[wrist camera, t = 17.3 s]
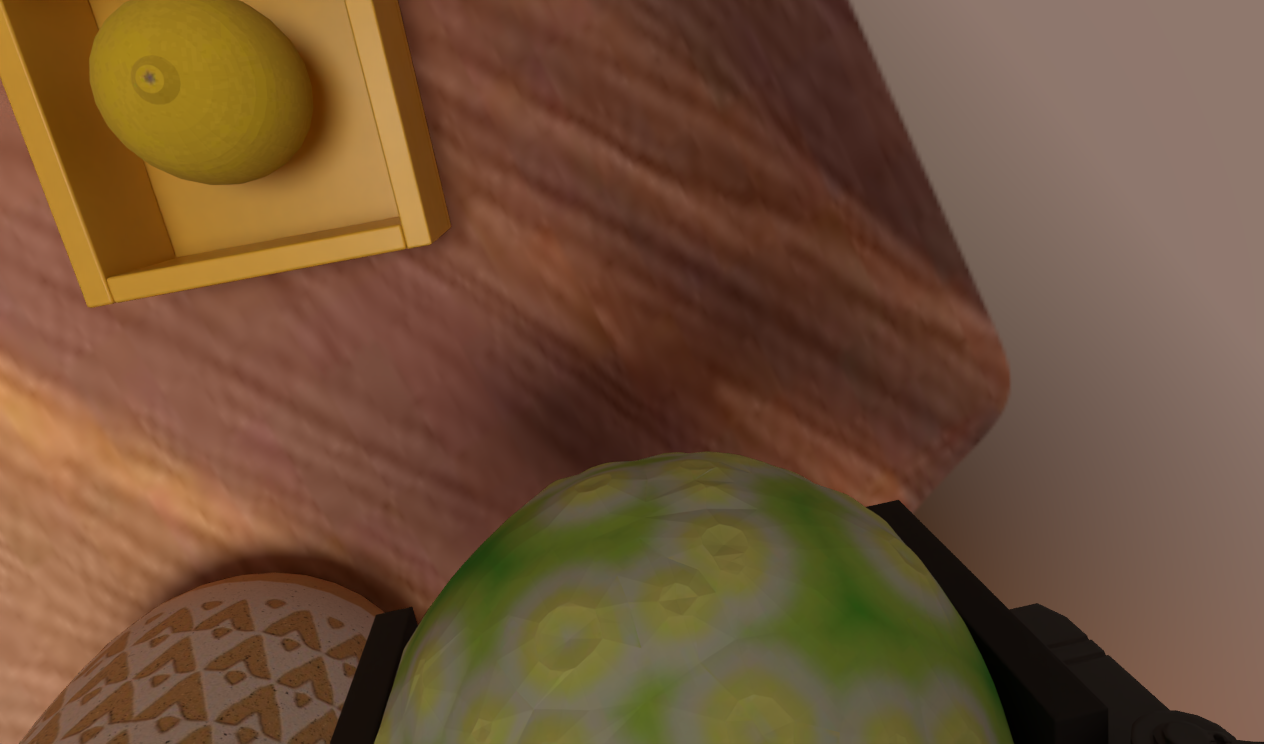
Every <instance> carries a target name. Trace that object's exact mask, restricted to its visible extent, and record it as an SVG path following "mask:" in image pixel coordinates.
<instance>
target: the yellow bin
mask: <svg viewBox="0 0 1264 744" xmlns="http://www.w3.org/2000/svg"><path fill="white" fill-rule="evenodd" d="M127 1H129V0H0V78H1V80H2V83H3V86H4V88H5V91H6V93H7V96H8V99H9V101H10V104H11V107H12V109H13V112H14V114H15V117H16V120H17V122H18V125H19V128H20V130H21V133H22V135H23V138H24V141H25V143H26V146H27V149H28V151H29V154H30V157H31V159H32V162H33V164H34V167H35V170H36V172H37V175H38V178H39V180H40V183H41V185H42V188H43V191H44V193H45V196H46V199H47V201H48V204H49V206H50V209H51V212H52V214H53V217H54V220H55V222H56V225H57V227H58V230H59V233H60V235H61V238H62V241H63V243H64V246H65V248H66V251H67V254H68V256H69V259H70V262H71V264H72V267H73V269H74V272H75V275H76V277H77V280H78V283H79V285H80V288H81V291H82V293H83V296H84V298H85V301H86V304H87V306H88V307H90V308H93V307H98V306H104V305H109V304H113V303H116V302H118V303H120V302H125V301H130V300H136V299H141V298H147V297H152V296H157V295H163V294H168V293H173V292H179V291H184V290H189V289H195V288H200V287H206V286H211V285H216V284H222V283H227V282H232V281H238V280H243V279H249V278H254V277H259V276H265V275H270V274H275V273H281V272H286V271H291V270H297V269H302V268H308V267H313V266H318V265H324V264H329V263H334V262H340V261H345V260H351V259H356V258H361V257H367V256H372V255H377V254H383V253H388V252H393V251H399V250H404V249H406V248H409V249H410V248H415V247H421V246H426V245H431V244H432V243H433V242H434V241H436V240H437V239H438V238H439V237H440V236H441V235H443V234H444V233H445V232H446V231H447V230H448V229H450V228H451V223H450V219H449V215H448V211H447V206H446V202H445V198H444V194H443V190H442V185H441V181H440V177H439V173H438V168H437V164H436V160H435V156H434V152H433V147H432V143H431V139H430V135H429V130H428V126H427V122H426V118H425V113H424V109H423V105H422V101H421V97H420V92H419V88H418V84H417V80H416V75H415V71H414V67H413V63H412V59H411V54H410V50H409V46H408V42H407V37H406V33H405V29H404V25H403V21H402V16H401V12H400V8H399V4H398V0H239V1H242V2H244V3H246V4H248V5H249V6H251V7H252V8H254V9H255V10H257V11H258V12H260V13H261V14H263V15H264V16H266V17H267V18H269V19H270V20H271V21H272V22H273V23H274V24H275V25H276V26H277V27H278V28H279V29H280V30H281V31H282V32H283V33H284V34H285V35H286V36H287V37H288V38H289V39H290V41H291V42H292V44H293V45H294V47H295V49H296V50H297V52H298V54H299V55H300V57H301V59H302V60H303V62H304V63H305V66H306V69H307V72H308V76H309V79H310V82H311V85H312V95H313V113H312V119H311V125H310V129H309V131H308V133H307V136H306V138H305V140H304V142H303V144H302V146H301V148H300V149H299V150H298V151H297V152H296V153H295V154H294V156H293V157H292V158H291V159H290V160H289V161H288V162H287V163H286V164H285V165H283V166H282V167H280V168H279V169H277V170H276V171H274V172H273V173H271V174H269V175H268V176H266V177H263V178H260V179H257V180H253V181H250V182H247V183H243V184H233V185H208V184H203V183H198V182H193V181H188V180H184V179H180V178H177V177H175V176H173V175H171V174H168V173H166V172H164V171H162V170H160V169H157V168H155V167H153V166H151V165H149V164H148V163H147V162H145V161H144V160H143V159H141V158H140V157H139V156H137V155H136V154H135V153H133V152H132V151H131V150H129V149H128V148H127V147H125V145H124V144H123V143H122V142H121V141H120V140H119V139H118V137H117V136H116V135H115V134H114V133H113V132H112V131H111V129H110V128H109V127H108V125H107V124H106V122H105V120H104V118H103V116H102V115H101V113H100V111H99V109H98V107H97V105H96V103H95V100H94V96H93V92H92V89H91V85H90V76H89V58H90V54H91V50H92V46H93V42H94V38H95V36H96V35H97V33H98V31H99V30H100V28H101V26H102V25H103V23H104V21H105V20H106V19H107V18H108V17H109V16H110V15H111V14H112V13H113V12H114V11H116V10H117V9H118V8H119V7H120V6H121V5H122V4H123V3H125V2H127Z"/></svg>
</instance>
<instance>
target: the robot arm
mask: <svg viewBox="0 0 1264 744" xmlns="http://www.w3.org/2000/svg"><path fill="white" fill-rule="evenodd" d="M866 508H868V509H869V510H871V511H872V512H874V513H875V514H877V515H878V516H880V517H881V518H882V519H883V520H885V521H886V522H887V523H888V524H889V526H890V527H891V528H892V529H893V530H894V532H895V533H896V534H897V535H898V536H899V537H900V539H901V540H902V541H903V542H904V543H905V545H906V546H908V547H909V548H910V549H911V550H912V551H913V552H914V553H915V554H916V555H917V556H918V558H919V559H920V560H921V561H922V563H923V564H924V565H925V567H926V568H927V569H928V571H929V572H930V573H931V575H932V576H933V577H934V579H935V580H936V581H937V583H938V584H939V585H940V587H941V588H942V590H943V591H944V593H945V594H946V596H947V597H948V599H949V600H950V602H951V603H952V605H953V606H954V608H955V609H956V611H957V612H958V614H959V615H960V617H961V618H962V620H963V621H964V623H965V624H966V626H967V628H968V630H969V632H970V634H971V636H972V638H973V640H974V642H975V644H976V646H977V648H978V650H979V652H980V654H981V655H982V658H983V660H984V662H985V664H986V666H987V669H988V671H989V673H990V675H991V678H992V680H993V682H994V685H995V687H996V690H997V693H998V695H999V698H1000V701H1001V704H1002V706H1003V709H1004V712H1005V716H1006V719H1007V722H1008V726H1009V729H1010V732H1011V735H1012V739H1013V742H1014V744H1264V742H1251V741H1241V740H1236V738H1235V737H1234V736H1232V735H1231V734H1230V733H1228V732H1227V731H1226V730H1225V729H1223V728H1222V727H1221V726H1219V725H1218V724H1216V723H1213V722H1211V721H1209V720H1207V719H1204V718H1202V717H1200V716H1198V715H1194V714H1189V713H1185V712H1180V711H1170V710H1169V709H1168V708H1167V707H1166V706H1165V705H1164V704H1162V703H1161V702H1160V701H1159V700H1158V699H1157V698H1156V697H1155V696H1154V695H1152V694H1151V693H1150V692H1149V691H1148V690H1147V689H1146V688H1145V687H1144V686H1142V685H1141V684H1140V683H1139V682H1138V681H1137V680H1136V679H1135V678H1134V677H1132V676H1131V675H1130V674H1129V673H1128V672H1127V671H1126V670H1124V668H1122V667H1121V666H1120V665H1119V664H1118V663H1117V662H1116V661H1115V660H1114V659H1112V658H1111V657H1110V656H1109V655H1107V656H1106V655H1105V652H1104V650H1102V649H1101V648H1100V647H1099V646H1098V645H1097V644H1096V643H1094V642H1093V641H1092V640H1089V639H1088V637H1087V635H1086V634H1085V633H1083V632H1082V631H1081V630H1080V629H1079V628H1078V627H1077V626H1076V625H1075V624H1073V623H1072V622H1071V621H1070V620H1069V619H1068V618H1067V617H1065V616H1063V615H1061V614H1059V613H1057V612H1055V611H1052V610H1050V609H1048V608H1046V607H1044V606H1042V605H1039V604H1037V603H1036V604H1032V605H1028V606H1023V607H1019V608H1014V609H1010V610H1009V609H1008V608H1007V607H1006V606H1005V605H1004V604H1003V603H1002V602H1001V601H1000V600H999V599H998V598H997V597H996V596H995V595H994V594H993V593H992V592H991V591H990V590H989V589H988V588H987V587H986V586H985V585H984V584H983V583H982V582H981V581H980V580H979V579H978V578H977V577H976V576H975V575H974V574H973V573H972V572H971V571H970V570H968V569H967V567H966V566H965V565H963V564H962V562H961V561H960V560H959V559H958V558H957V557H956V556H955V555H953V553H951V551H950V550H948V549H947V548H946V546H944V545H943V544H942V543H941V542H940V541H939V540H938V539H937V538H936V537H935V536H934V535H933V534H932V533H931V532H930V531H929V530H928V529H927V528H926V527H925V526H924V525H923V524H922V523H921V522H920V521H919V520H918V519H917V518H916V517H915V516H914V515H913V514H912V513H911V512H910V511H909V510H908V509H907V508H906V507H905V506H904V505H903V504H902V503H901V502H900V501H899V500H896V501H891V502H887V503H882V504H878V505H873V506H869V507H866ZM417 627H418V625H417V621H416V618H415V615H414V611H413V608H412V607H409V608H405V609H400V610H396V611H391V612H387V613H382V614H377V615H376V616H375V619H374V622H373V624H372V627H371V630H370V633H369V636H368V638H367V641H366V644H365V647H364V649H363V652H362V655H361V658H360V661H359V663H358V666H357V669H356V672H355V674H354V677H353V680H352V683H351V686H350V688H349V691H348V694H347V697H346V699H345V702H344V705H343V708H342V711H341V713H340V716H339V719H338V722H337V725H336V727H335V730H334V733H333V736H332V738H331V741H330V744H374V742H375V739H376V737H377V734H378V731H379V728H380V725H381V722H382V719H383V715H384V712H385V709H386V706H387V702H388V699H389V696H390V693H391V691H392V687H393V684H394V681H395V677H396V674H397V671H398V667H399V664H400V660H401V657H402V654H403V650H404V648H405V646H406V645H407V643H408V641H409V640H410V638H411V637H412V635H413V633H414V632H415V630H416V628H417Z"/></svg>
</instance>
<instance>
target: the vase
mask: <svg viewBox="0 0 1264 744" xmlns="http://www.w3.org/2000/svg"><path fill="white" fill-rule="evenodd" d="M382 613H384V612H383V611H382V610H381V609H380V608H378V607H377V606H375V605H374V604H373V603H371V602H370V601H368V600H367V599H366V598H364V597H363V596H361V595H360V594H358V593H356V592H353V591H351V590H349V589H347V588H345V587H343V586H340V585H338V584H336V583H334V582H330V581H326V580H323V579H319V578H315V577H311V576H308V575H299V574H289V573H278V572H276V573H262V574H248V575H239V576H235V577H231V578H227V579H223V580H219V581H215V582H211V583H208V584H205V585H201V586H199V587H197V588H194V589H192V590H190V591H188V592H185V593H183V594H181V595H179V596H177V597H174V598H172V599H170V600H168V601H166V602H164V603H163V604H161V605H159V606H157V607H156V608H155V609H153V610H152V611H151V612H149V613H148V614H146V615H145V616H144V617H142V618H141V619H139V620H138V621H137V622H135V623H134V624H132V625H131V626H130V627H129V628H127V629H126V630H125V631H123V632H122V633H121V634H120V635H118V636H117V637H116V638H115V639H113V640H112V641H111V642H109V643H108V644H107V645H106V646H105V647H104V648H103V649H102V650H101V651H100V652H99V653H98V654H97V655H96V656H95V657H94V658H93V659H92V660H91V661H90V662H89V663H88V664H87V665H86V666H85V667H84V668H83V669H82V670H81V671H80V673H79V674H78V675H77V676H76V677H75V678H74V679H73V680H72V681H71V682H70V684H69V685H68V686H67V687H66V688H65V689H64V690H63V691H62V692H61V693H60V695H59V696H58V697H57V698H56V699H55V700H54V701H53V703H52V704H51V705H50V706H49V707H48V709H47V710H46V711H45V712H44V713H43V714H42V716H41V717H40V718H39V719H38V720H37V721H36V723H35V724H34V725H33V726H32V728H31V729H30V730H29V731H28V733H27V734H26V735H25V736H24V738H23V739H22V740H21V741H20V743H19V744H330V741H331V738H332V736H333V733H334V730H335V727H336V725H337V722H338V719H339V716H340V713H341V711H342V708H343V705H344V702H345V699H346V697H347V694H348V691H349V688H350V686H351V683H352V680H353V677H354V674H355V672H356V669H357V666H358V663H359V661H360V658H361V655H362V652H363V649H364V647H365V644H366V641H367V638H368V636H369V633H370V630H371V627H372V624H373V622H374V619H375V616H376V615H377V614H382Z"/></svg>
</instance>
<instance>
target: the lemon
mask: <svg viewBox="0 0 1264 744" xmlns="http://www.w3.org/2000/svg"><path fill="white" fill-rule="evenodd" d="M89 76H90V85H91V89H92V92H93V96H94V100H95V103H96V105H97V107H98V109H99V111H100V113H101V115H102V116H103V118H104V120H105V122H106V124H107V125H108V127H109V128H110V129H111V131H112V132H113V133H114V134H115V135H116V136H117V137H118V139H119V140H120V141H121V142H122V143H123V144H124V145H125V147H127V148H128V149H129V150H131V151H132V152H133V153H135V154H136V155H137V156H139V157H140V158H141V159H143V160H144V161H145V162H147V163H148V164H149V165H151V166H153V167H155V168H157V169H160V170H162V171H164V172H166V173H168V174H171V175H173V176H175V177H177V178H180V179H184V180H188V181H193V182H198V183H203V184H208V185H233V184H243V183H247V182H250V181H253V180H257V179H260V178H263V177H266V176H268V175H269V174H271V173H273V172H274V171H276V170H277V169H279V168H280V167H282V166H283V165H285V164H286V163H287V162H288V161H289V160H290V159H291V158H292V157H293V156H294V154H295V153H296V152H297V151H298V150H299V149H300V148H301V146H302V144H303V142H304V140H305V138H306V136H307V133H308V131H309V129H310V125H311V119H312V113H313V95H312V85H311V82H310V79H309V76H308V72H307V69H306V66H305V63H304V62H303V60H302V59H301V57H300V55H299V54H298V52H297V50H296V49H295V47H294V45H293V44H292V42H291V41H290V39H289V38H288V37H287V36H286V35H285V34H284V33H283V32H282V31H281V30H280V29H279V28H278V27H277V26H276V25H275V24H274V23H273V22H272V21H271V20H270V19H269V18H267V17H266V16H264V15H263V14H261V13H260V12H258V11H257V10H255V9H254V8H252V7H251V6H249V5H248V4H246V3H244V2H242V1H239V0H129V1H127V2H125V3H123V4H122V5H121V6H120V7H119V8H118V9H117V10H116V11H114V12H113V13H112V14H111V15H110V16H109V17H108V18H107V19H106V20H105V21H104V23H103V25H102V26H101V28H100V30H99V31H98V33H97V35H96V36H95V38H94V42H93V46H92V50H91V54H90V58H89Z"/></svg>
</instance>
